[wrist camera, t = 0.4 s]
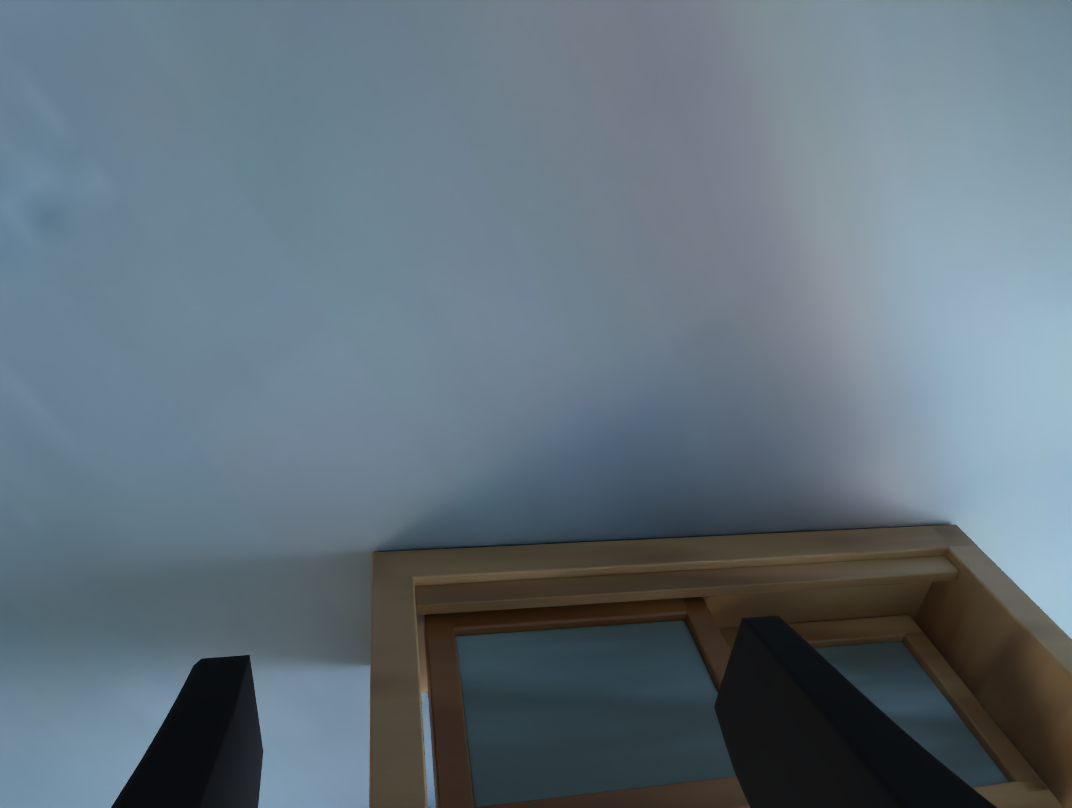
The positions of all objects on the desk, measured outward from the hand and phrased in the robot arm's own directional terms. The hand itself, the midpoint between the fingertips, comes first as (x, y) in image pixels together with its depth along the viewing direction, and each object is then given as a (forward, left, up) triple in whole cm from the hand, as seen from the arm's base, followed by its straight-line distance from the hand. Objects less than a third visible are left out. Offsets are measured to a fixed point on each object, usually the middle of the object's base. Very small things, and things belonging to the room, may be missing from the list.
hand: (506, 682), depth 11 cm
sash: (-8, -4, -8) cm, 12 cm away
